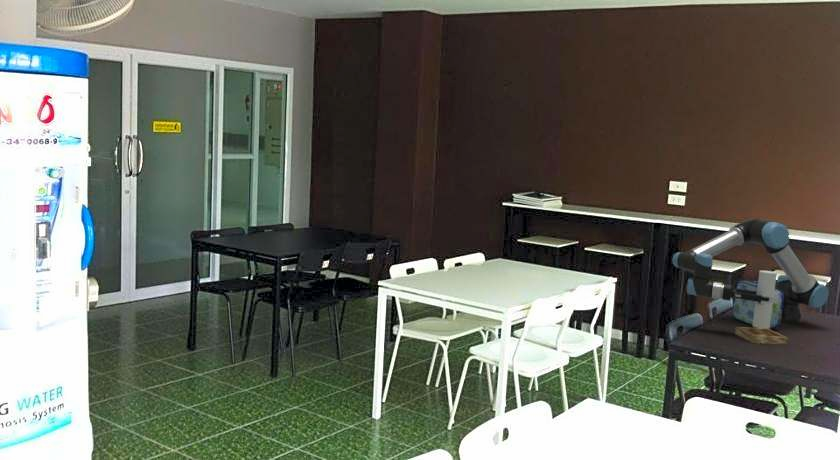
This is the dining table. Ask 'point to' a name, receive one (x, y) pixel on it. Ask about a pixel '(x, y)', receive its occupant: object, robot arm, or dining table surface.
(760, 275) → the tall white box
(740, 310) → the lunch box
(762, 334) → the oak tray
